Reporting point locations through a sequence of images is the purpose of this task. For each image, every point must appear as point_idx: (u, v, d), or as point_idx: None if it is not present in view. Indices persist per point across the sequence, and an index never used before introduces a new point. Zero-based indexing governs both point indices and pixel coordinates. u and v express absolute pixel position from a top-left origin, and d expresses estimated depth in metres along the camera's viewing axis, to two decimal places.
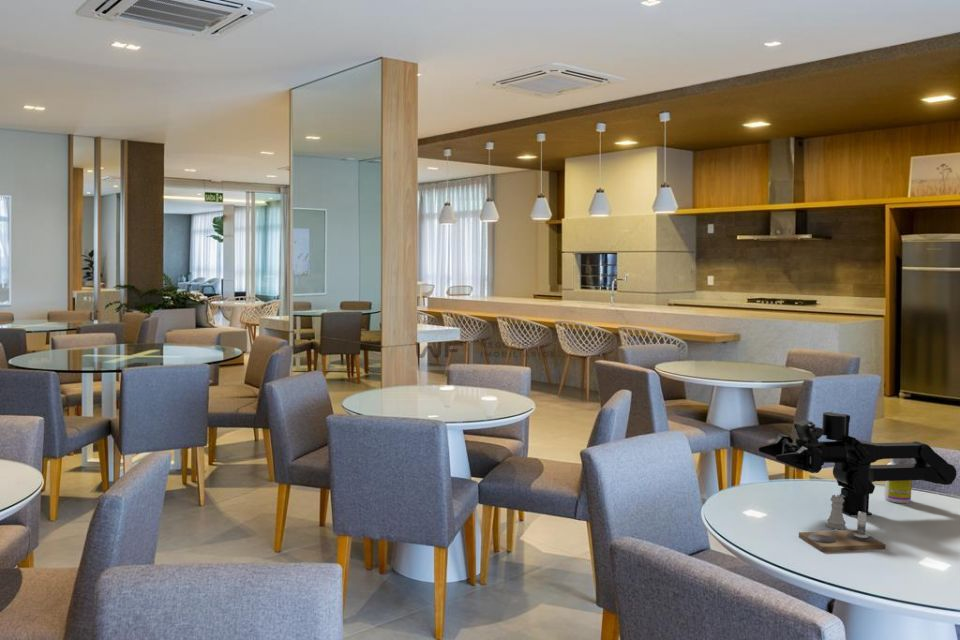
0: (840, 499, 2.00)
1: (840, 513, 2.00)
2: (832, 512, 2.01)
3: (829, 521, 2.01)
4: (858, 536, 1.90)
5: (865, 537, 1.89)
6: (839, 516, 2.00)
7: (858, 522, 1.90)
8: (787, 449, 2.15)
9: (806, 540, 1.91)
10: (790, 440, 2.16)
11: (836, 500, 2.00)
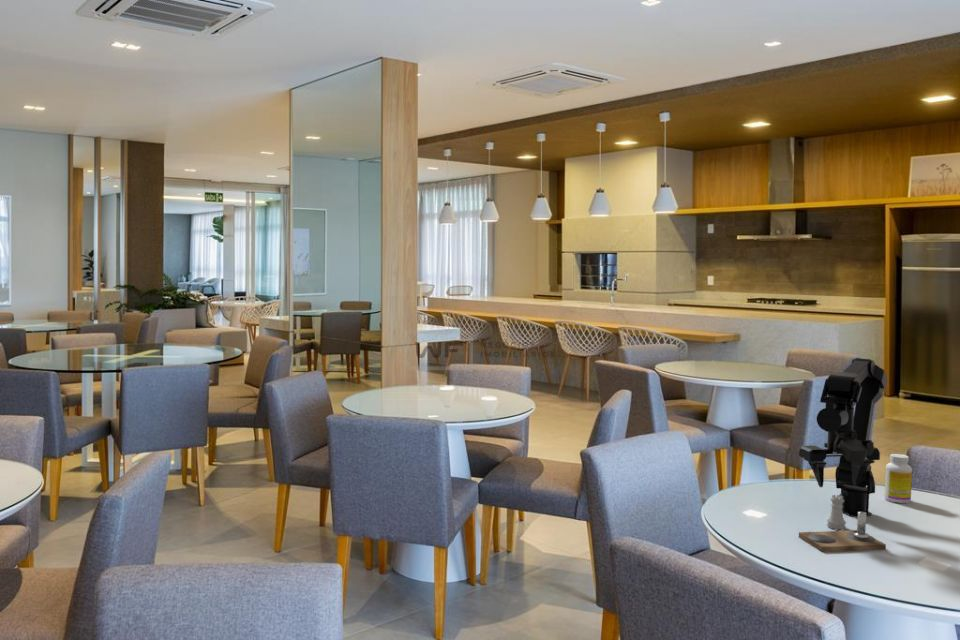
0: (840, 499, 2.00)
1: (840, 513, 2.00)
2: (832, 512, 2.01)
3: (829, 521, 2.01)
4: (858, 536, 1.90)
5: (865, 537, 1.89)
6: (839, 516, 2.00)
7: (858, 522, 1.90)
8: None
9: (806, 540, 1.91)
10: None
11: (836, 500, 2.00)
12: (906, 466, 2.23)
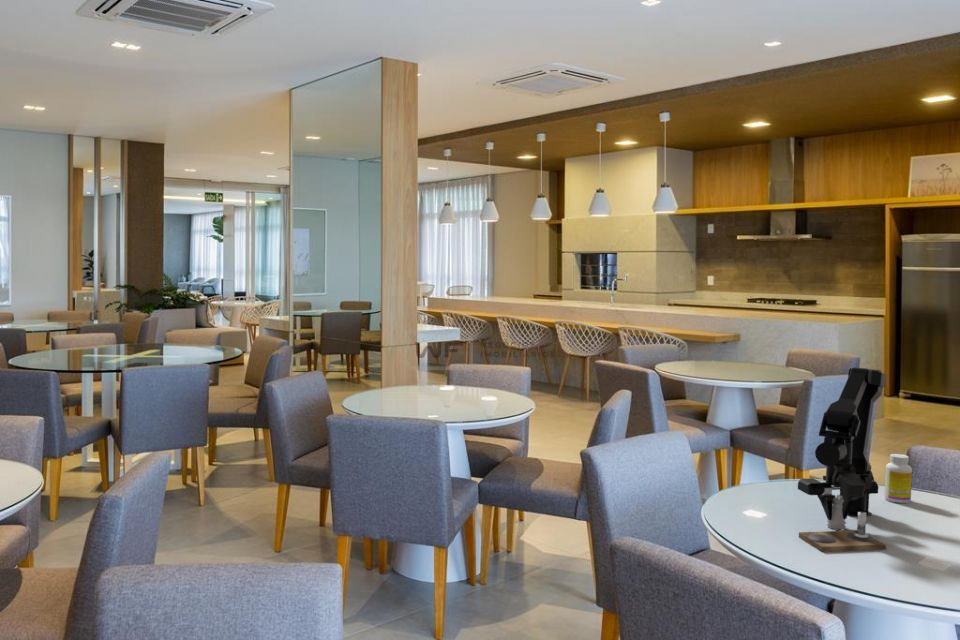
0: (840, 499, 2.00)
1: (840, 513, 2.00)
2: (832, 512, 2.01)
3: (829, 521, 2.01)
4: (858, 536, 1.90)
5: (865, 537, 1.89)
6: (839, 516, 2.00)
7: (858, 522, 1.90)
8: None
9: (806, 540, 1.91)
10: None
11: (836, 500, 2.00)
12: (906, 466, 2.23)
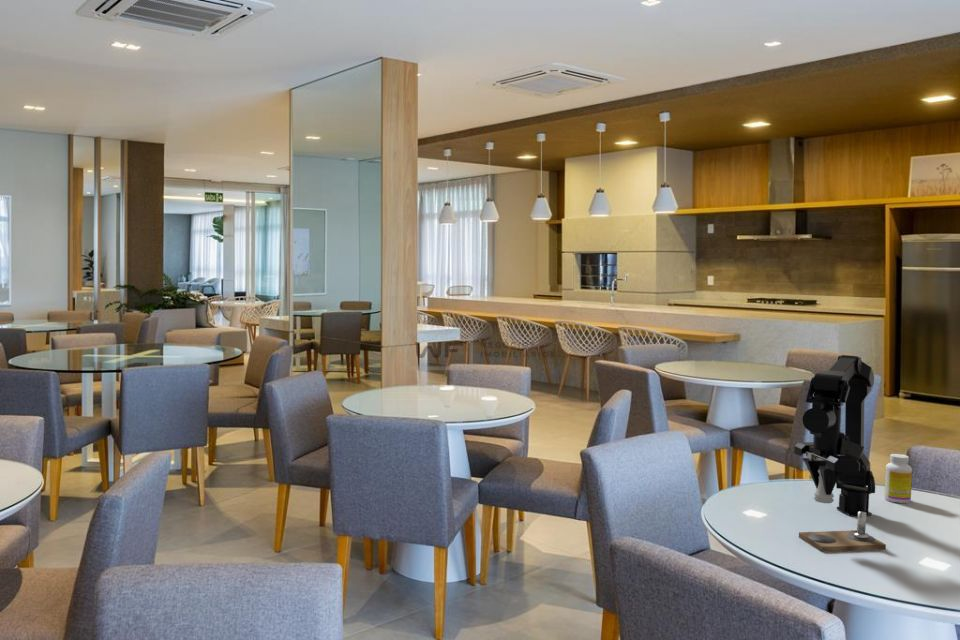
0: None
1: None
2: None
3: (829, 496, 1.87)
4: (858, 536, 1.90)
5: (865, 537, 1.89)
6: None
7: (858, 522, 1.90)
8: None
9: (806, 540, 1.91)
10: None
11: None
12: (906, 466, 2.23)
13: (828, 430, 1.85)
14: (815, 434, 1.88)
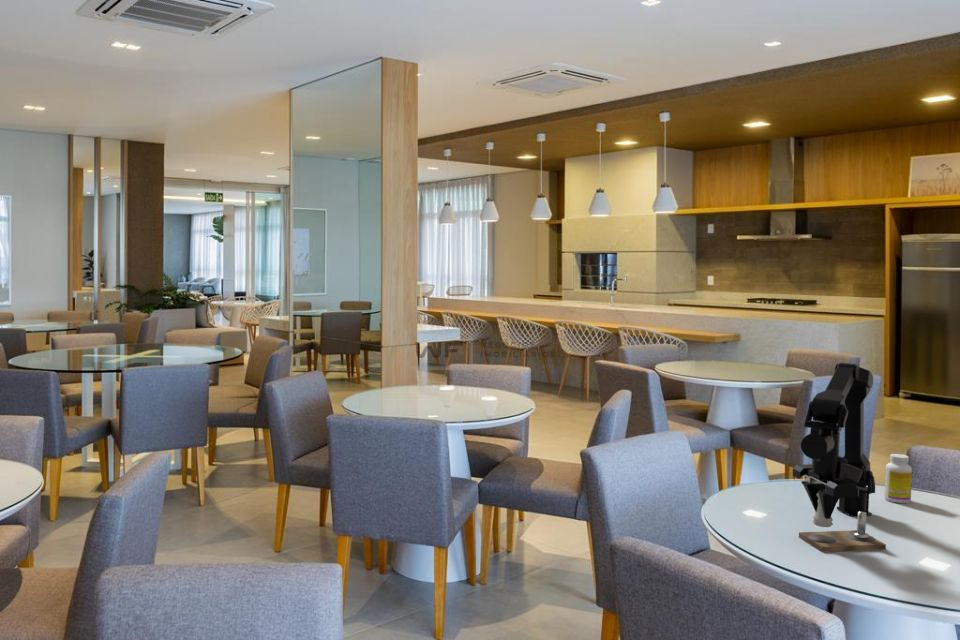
0: None
1: None
2: None
3: (828, 520, 1.87)
4: (858, 536, 1.90)
5: (865, 537, 1.89)
6: None
7: (858, 522, 1.90)
8: None
9: (806, 540, 1.91)
10: None
11: None
12: (906, 466, 2.23)
13: (827, 455, 1.85)
14: (814, 458, 1.88)
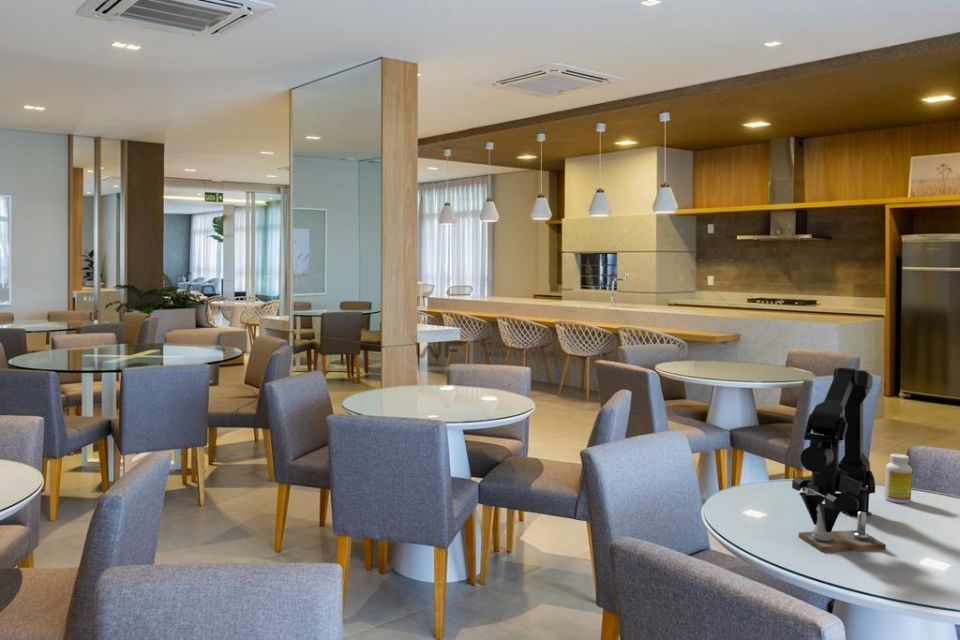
0: None
1: None
2: None
3: (827, 534, 1.87)
4: (858, 536, 1.90)
5: (865, 537, 1.89)
6: None
7: (858, 522, 1.90)
8: None
9: (806, 540, 1.91)
10: None
11: None
12: (906, 466, 2.23)
13: (826, 467, 1.85)
14: None
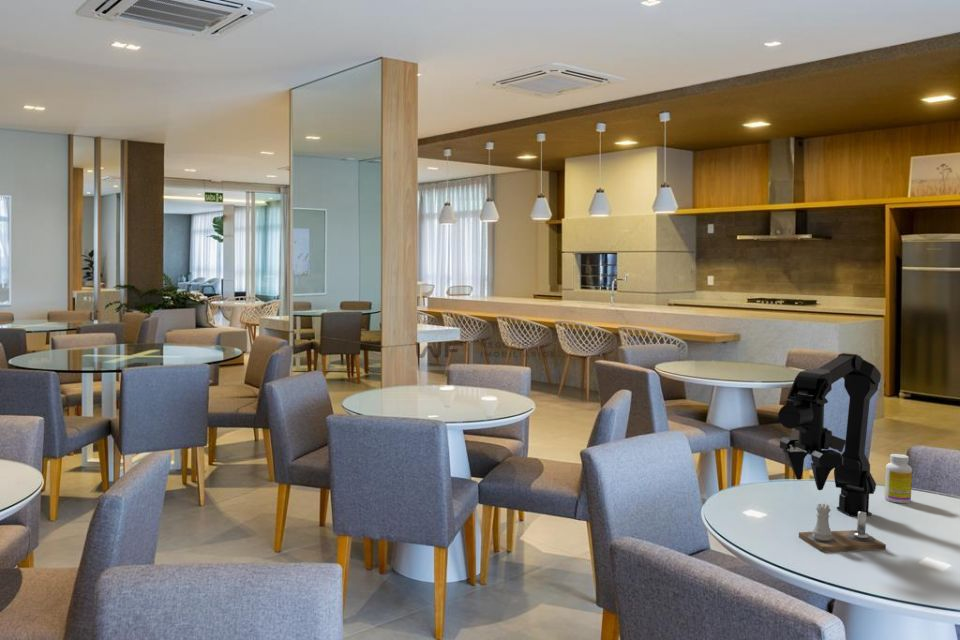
0: (828, 506, 1.89)
1: None
2: (825, 523, 1.88)
3: (827, 534, 1.87)
4: (858, 536, 1.90)
5: (865, 537, 1.89)
6: None
7: (858, 522, 1.90)
8: None
9: (806, 540, 1.91)
10: None
11: (829, 509, 1.88)
12: (906, 466, 2.23)
13: (812, 426, 1.95)
14: (800, 430, 1.97)
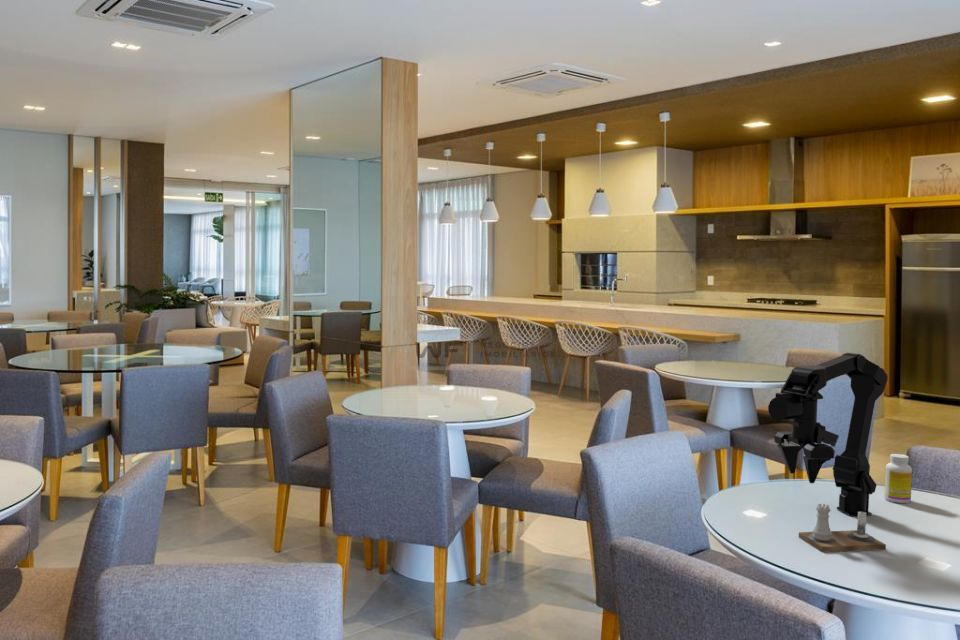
0: None
1: None
2: (826, 523, 1.88)
3: (827, 534, 1.87)
4: (858, 536, 1.90)
5: (865, 537, 1.89)
6: None
7: (858, 522, 1.90)
8: None
9: (806, 540, 1.91)
10: None
11: (829, 509, 1.88)
12: (906, 466, 2.23)
13: (805, 420, 1.99)
14: (793, 424, 2.01)
